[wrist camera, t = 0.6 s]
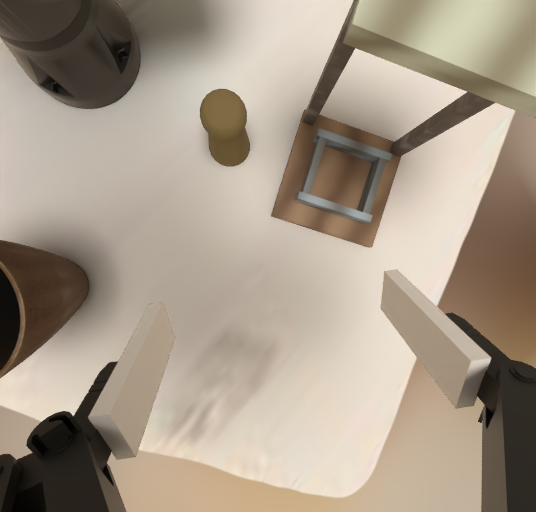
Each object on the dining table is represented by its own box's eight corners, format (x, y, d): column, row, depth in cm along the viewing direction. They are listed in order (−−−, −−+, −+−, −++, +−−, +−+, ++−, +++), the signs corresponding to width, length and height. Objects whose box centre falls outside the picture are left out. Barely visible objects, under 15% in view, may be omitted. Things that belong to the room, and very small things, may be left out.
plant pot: (131, 317, 39) (50, 368, 23) (31, 351, 38) (-124, 428, 22) (94, 221, 38) (-17, 205, 22) (-9, 254, 37) (-203, 262, 21)
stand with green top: (268, 215, 40) (310, 156, 13) (300, 109, 39) (417, -188, 12) (371, 248, 41) (608, 259, 14) (403, 146, 41) (713, -45, 14)
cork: (238, 117, 39) (234, 68, 28) (257, 155, 39) (260, 121, 28) (201, 135, 38) (182, 93, 27) (220, 173, 39) (209, 146, 28)
